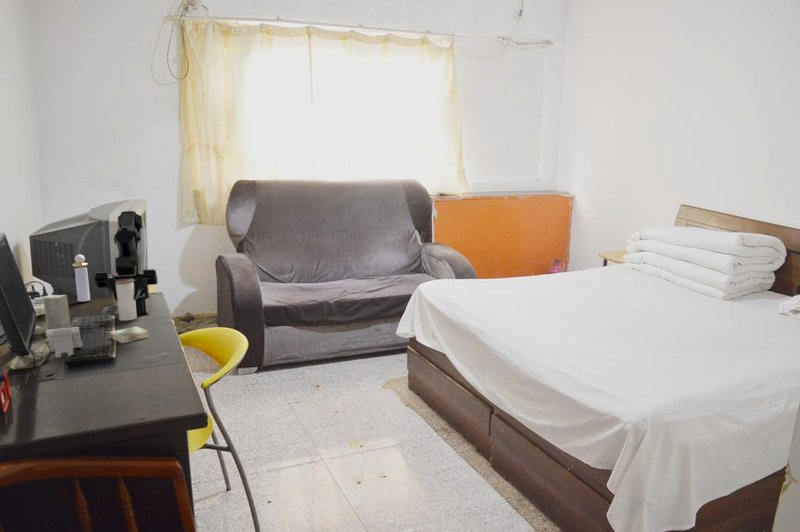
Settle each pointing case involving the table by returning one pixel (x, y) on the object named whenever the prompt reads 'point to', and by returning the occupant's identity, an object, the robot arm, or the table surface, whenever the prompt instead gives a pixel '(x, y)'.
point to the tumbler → (126, 299)
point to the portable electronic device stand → (63, 340)
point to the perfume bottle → (81, 279)
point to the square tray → (130, 334)
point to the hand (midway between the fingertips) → (125, 299)
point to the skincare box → (57, 312)
